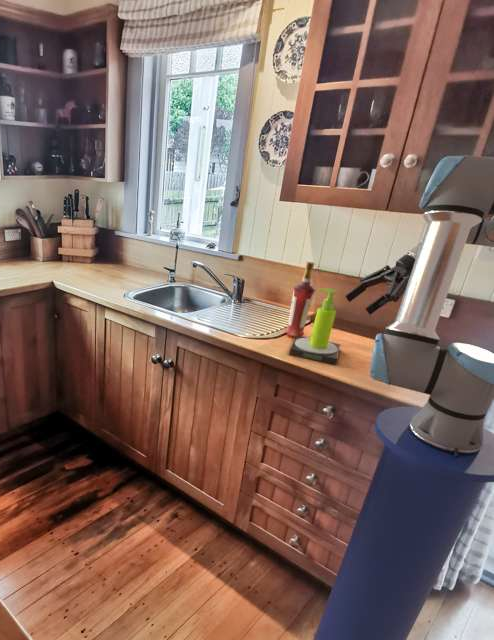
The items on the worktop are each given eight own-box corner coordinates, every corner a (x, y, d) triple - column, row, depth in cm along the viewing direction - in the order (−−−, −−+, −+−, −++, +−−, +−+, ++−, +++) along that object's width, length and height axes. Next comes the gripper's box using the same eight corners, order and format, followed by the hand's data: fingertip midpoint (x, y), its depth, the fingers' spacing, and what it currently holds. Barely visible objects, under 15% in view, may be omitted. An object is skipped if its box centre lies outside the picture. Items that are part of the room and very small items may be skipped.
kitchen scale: (335, 365, 155) (337, 357, 154) (288, 355, 161) (290, 347, 159) (338, 349, 167) (340, 342, 166) (295, 340, 173) (297, 334, 172)
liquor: (285, 330, 182) (301, 259, 170) (305, 334, 179) (322, 262, 167) (282, 336, 177) (298, 262, 164) (302, 340, 174) (320, 266, 161)
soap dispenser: (311, 340, 167) (325, 285, 158) (329, 346, 162) (344, 290, 153) (303, 343, 163) (316, 288, 155) (321, 350, 159) (336, 293, 150)
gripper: (444, 280, 141) (382, 325, 147) (397, 262, 164) (344, 301, 169) (434, 262, 139) (371, 308, 144) (387, 246, 161) (334, 287, 167)
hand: (356, 305), depth 157 cm, fingers open, 13 cm apart
